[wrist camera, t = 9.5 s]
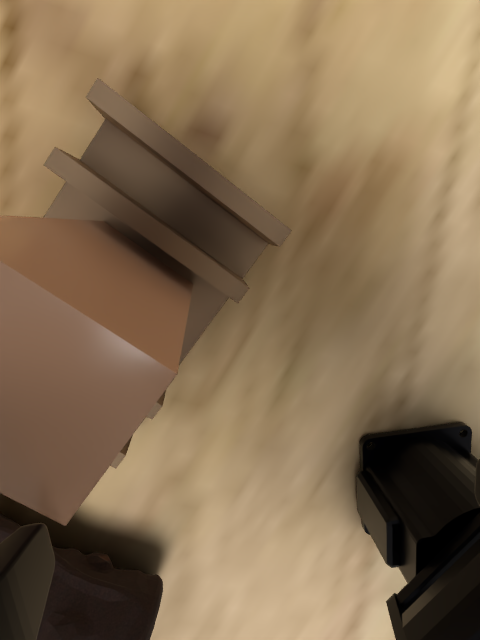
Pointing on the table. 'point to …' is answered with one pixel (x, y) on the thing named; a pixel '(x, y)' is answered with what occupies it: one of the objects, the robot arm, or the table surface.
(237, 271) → the rack
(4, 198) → the table surface
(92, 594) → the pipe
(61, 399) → the clay block
